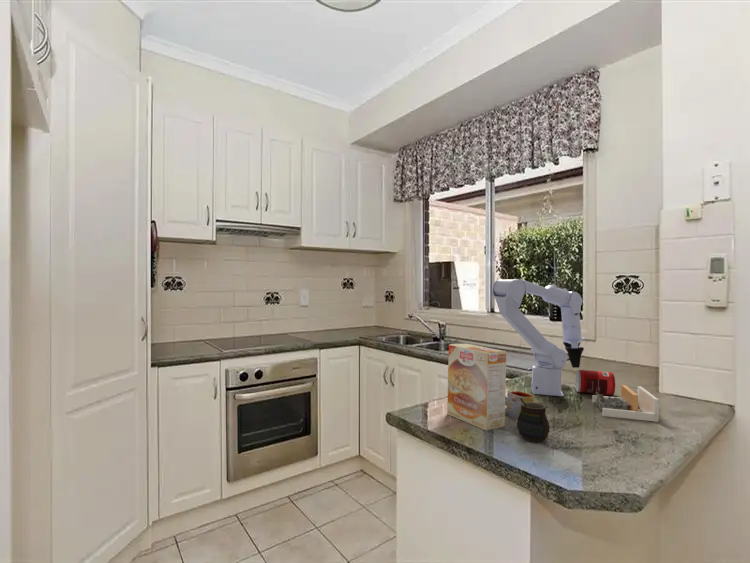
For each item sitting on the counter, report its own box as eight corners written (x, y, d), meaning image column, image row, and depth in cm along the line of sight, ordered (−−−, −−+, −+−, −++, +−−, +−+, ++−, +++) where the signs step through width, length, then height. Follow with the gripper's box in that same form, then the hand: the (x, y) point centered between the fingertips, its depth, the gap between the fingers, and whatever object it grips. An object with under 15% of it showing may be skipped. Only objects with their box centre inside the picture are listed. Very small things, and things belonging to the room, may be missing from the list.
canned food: (609, 374, 146) (575, 371, 149) (614, 370, 139) (578, 367, 142) (611, 397, 143) (575, 393, 147) (616, 393, 136) (578, 390, 140)
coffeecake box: (446, 414, 116) (447, 344, 116) (465, 410, 120) (466, 342, 120) (485, 431, 103) (487, 352, 103) (506, 426, 107) (507, 350, 107)
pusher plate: (632, 416, 117) (633, 395, 117) (621, 404, 129) (621, 384, 129) (637, 417, 116) (638, 395, 116) (625, 404, 128) (625, 385, 128)
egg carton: (594, 404, 130) (594, 391, 130) (621, 407, 128) (621, 393, 128) (601, 414, 120) (601, 399, 120) (631, 417, 118) (631, 402, 118)
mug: (537, 417, 115) (538, 393, 115) (529, 423, 110) (530, 398, 110) (495, 408, 123) (496, 386, 123) (486, 414, 117) (486, 390, 117)
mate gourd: (556, 441, 97) (557, 398, 97) (535, 447, 94) (535, 402, 94) (530, 431, 104) (531, 391, 104) (509, 436, 100) (510, 394, 100)
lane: (602, 415, 118) (603, 394, 118) (592, 401, 132) (592, 382, 132) (658, 421, 113) (658, 399, 114) (640, 406, 128) (641, 386, 128)
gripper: (586, 328, 137) (590, 369, 137) (581, 321, 150) (584, 359, 151) (563, 329, 139) (566, 370, 140) (560, 322, 153) (563, 359, 153)
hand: (574, 364), depth 145 cm, fingers open, 7 cm apart
